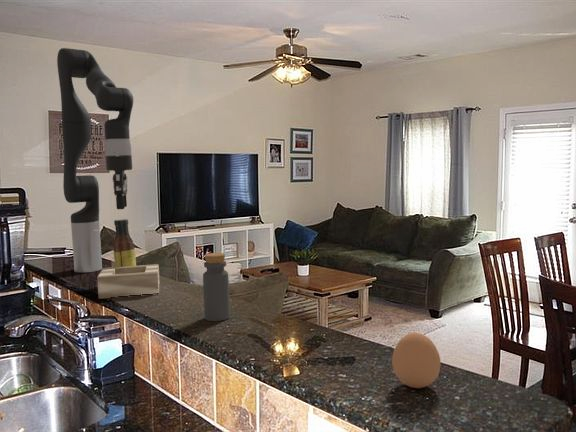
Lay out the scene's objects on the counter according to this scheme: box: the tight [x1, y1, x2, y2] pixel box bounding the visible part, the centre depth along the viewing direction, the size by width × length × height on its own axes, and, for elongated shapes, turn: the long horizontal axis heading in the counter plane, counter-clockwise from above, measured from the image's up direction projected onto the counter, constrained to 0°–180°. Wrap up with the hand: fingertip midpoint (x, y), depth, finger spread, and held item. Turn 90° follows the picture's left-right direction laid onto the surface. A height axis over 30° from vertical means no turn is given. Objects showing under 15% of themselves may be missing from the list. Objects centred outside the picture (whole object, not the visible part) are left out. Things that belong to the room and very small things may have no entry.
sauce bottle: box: [112, 218, 137, 267], centre depth 165 cm, size 7×6×20 cm
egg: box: [391, 332, 441, 389], centre depth 84 cm, size 7×7×8 cm
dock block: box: [96, 263, 161, 300], centre depth 156 cm, size 14×16×6 cm
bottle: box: [202, 252, 231, 322], centre depth 125 cm, size 6×6×15 cm
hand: (121, 208), depth 164 cm, fingers open, 8 cm apart
